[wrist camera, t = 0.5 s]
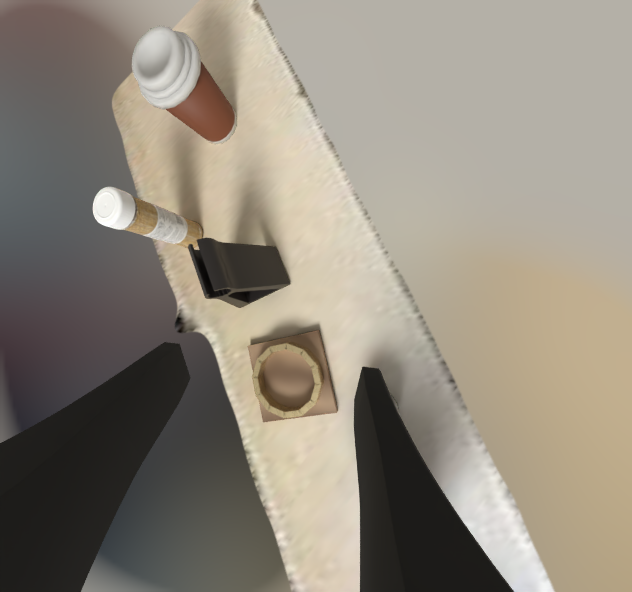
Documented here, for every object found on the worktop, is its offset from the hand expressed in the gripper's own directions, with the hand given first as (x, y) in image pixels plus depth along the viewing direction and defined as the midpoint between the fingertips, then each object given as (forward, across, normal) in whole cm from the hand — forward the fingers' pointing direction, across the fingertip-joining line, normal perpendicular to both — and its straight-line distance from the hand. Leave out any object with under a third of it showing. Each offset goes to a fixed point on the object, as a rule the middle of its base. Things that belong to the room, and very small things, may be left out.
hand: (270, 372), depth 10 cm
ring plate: (+17, +2, +22) cm, 27 cm away
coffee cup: (+41, +18, -7) cm, 46 cm away
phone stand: (+26, +9, +11) cm, 30 cm away
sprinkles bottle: (+32, +21, +8) cm, 39 cm away
